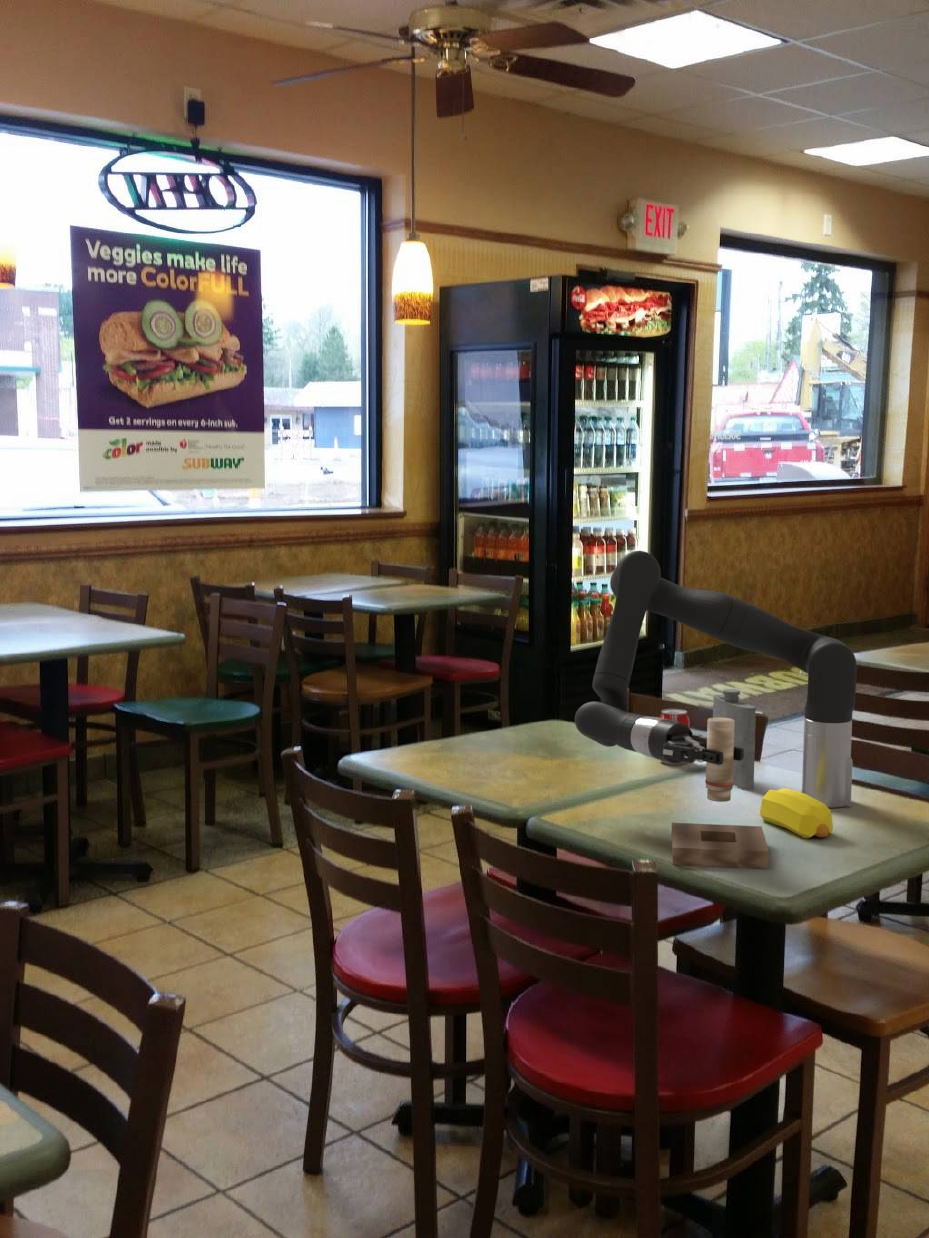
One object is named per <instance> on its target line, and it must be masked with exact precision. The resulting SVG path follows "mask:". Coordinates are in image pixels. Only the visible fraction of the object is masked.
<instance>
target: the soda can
mask: <svg viewBox="0 0 929 1238" xmlns="http://www.w3.org/2000/svg"><path fill="white" fill-rule="evenodd" d="M658 717H659V718H663V719H667V720H672V721H676V722H680V723H684V724H686V725H687V726H688V727H689V728H690V729H691V725H690V717H689V716H688V711H687V710H685V709H682V708H681V709H680V708H664V709H662V710H661V714H660V716H658ZM660 761H661V762H662V763H663V764H665V765H671V766H675V765H676V766H680V765H684V764H685V763H686V762H681V763H678V764H673V763H669V762H666V761H662V760H660Z"/></svg>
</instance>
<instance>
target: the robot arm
mask: <svg viewBox="0 0 929 1238" xmlns="http://www.w3.org/2000/svg"><path fill="white" fill-rule="evenodd" d="M661 570H662V569H661V566H660V564H659V562H658V560H657V559H656V557H655V556H653V555H652V554H651V553H649V552H647V551H645V550H633V551H631V552H628V553H627V554H625V555H624V556H623V557H621V558H620V560H618V562H617V564H616V566H615V568H614V569H613V572H612V574H611V577H610V581H609V585H610V590H611V592H612V593H613V595H614V596H615V602H614V607H613V611H612V615H611V618H610V622H609V625H608V628H607V631H606V634H605V637H604V639H603V642H602V645H601V648H600V652H599V655H598V658H597V663H596V667H595V670H594V674H593V679H592V686H591V687H592V689H593V691H594V692H595V693H596V694H597V696H598V697H599V698H600V701H594V700H593V701H589V702H586V703H584V704H582V705H581V706H580V707H579V708H578V709H577V710H576V712H575V716H574V725H575V727H576V729H577V731H578V732H579V733H580V734H581V735H583V736H584V737H586V738H588V739H590V740H592V741H594V742H595V743H598V744H599V745H602V746H604V747H609V748H611V747H614V746H618V747H620V748H622V749H625V750H628V751H631V752H635V753H637V754H642V755H644V756H645V757H647V758H651V759H655V760H658V761H661V760H662V761H666V762H669V763H673V764H678V763H681V762H685V763H688V764H694V763H695V762H699V763H706V762H708V763H712V764H716V765H721V764H723V753H722V752H719V751H715V750H711V749H707V736H703V735H702V734H699V733H697V734H696V733H693V731H692V730H691V727H690V728H689V727H688V726H687V725H686V724H684V723H680V722H676V721H672V720H667V719H663V718H659V717H660V716H648V715H644V714H639V713H635V712H629V697H628V691H629V690H628V689H629V685H630V681H631V676H632V673H633V667H634V663H635V659H636V653H637V649H638V643H639V639H640V634H641V631H642V626H643V624H644V623H643V622H644V620H645V616H646V612H647V611H648V612H649V613H650V612H651V613H653V614H657V615H661V616H664V617H666V618H669V619H671V620H673V621H676V622H678V623H680V624H682V625H684V626H686V627H689V628H691V629H694V630H695V631H698V632H700V633H703V634H705V635H707V636H708V637H709V636H710V637H711V638H713V639H716V640H718V641H720V642H723V643H725V644H727V645H730V646H733V647H736V648H739V649H741V650H746V651H748V652H753V653H757V654H761V655H766V656H769V657H773V658H777V659H778V660H781V661H783V662H786V663H788V664H789V665H791V666H793V667H796V668H797V669H799V670H801V671H803V672H804V673H806V674H807V695H806V701H805V705H804V715H803V716H804V718H803V719H804V720H803V746H802V747H803V748H802V749H803V750H802V751H803V752H802V776H801V777H802V780H801V782H802V783H801V793H804V794H806V795H808V796H810V797H812V798H814V799H816V800H818V801H820V802H822V803H824V804H825V805H826V806H827V807H828V808H829V809H830V808H844V807H851V806H852V785H853V783H852V782H853V781H852V780H853V763H854V762H853V759H852V757H851V756H852V755H851V754H852V731H853V711H854V708H855V705H856V704H855V703H856V691H857V690H856V689H857V672H858V671H857V670H858V669H857V667H858V665H857V659H856V656H855V653H854V652H853V651H852V649H851V648H850V647H848V646H847V645H846V644H845V643H844V642H842V641H841V640H839V639H837V638H834V637H831V636H826V635H823V634H819V633H816V632H812V631H809V630H806V629H803V628H800V627H798V626H795V625H793V624H792V625H791V624H789V623H788V622H786V621H784V620H782V619H780V618H779V617H778V616H776V615H774V614H772V613H770V612H768V611H766V610H764V609H762V608H760V607H758V606H756V605H754V604H752V603H750V602H747V601H745V600H743V599H741V598H738V597H735V596H733V595H731V594H728V593H724V592H721V591H713V590H706V589H699V588H690V587H687V586H682V585H679V584H676V583H674V582H672V581H669V580H667V579H665V578H662V577H661V575H662V574H661V573H662V571H661ZM743 758H744V750H743V748H740V747H736V746H734V758H733V759H734V760H737V761H741V760H743ZM662 761H661V762H662Z"/></svg>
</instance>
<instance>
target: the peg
mask: <svg viewBox="0 0 929 1238" xmlns="http://www.w3.org/2000/svg"><path fill="white" fill-rule="evenodd" d="M706 724H707V726H706V727H707V728H706V730H707V731H706V737H707V749H711V750H715V751H719V752H722V753H723V764H721V765H716V764H712V763H708V762H705V764H706V765H705V766H706V769H705V779H704V780H705V782H704V783H705V788H706V789H707V793H706V794H707V796H706V797H707V800H709V801H711V802H717V803H718V802H719V803H721V802H723V803H725V802H726V803H727V802H729V801H731V795H732V792H731V791H732V790H733V787H734V786H733V758H734V724H735V720H733V719H730V718H721V717H716V718H713V717H709V718H708V719H707V723H706Z"/></svg>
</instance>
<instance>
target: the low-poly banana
mask: <svg viewBox="0 0 929 1238" xmlns="http://www.w3.org/2000/svg"><path fill="white" fill-rule="evenodd" d="M760 803H761V804H760V809H759V815H760V817H761V818H762V819H763V820H764V821H765V822H768V823H771V824H772V825H776V826H778V827H782V828H784V829H787V830H789V831H791V833H793V834H796V835H798V836H800V837H802V838H804V839H809V838H810V839H811V837H813V836H815V837H817V838H825V837H827V836H830V835H832V834H833V829H834V823H833V814H832V810H831V809H830V807H827V806H826V805H825V804H824V803H822V802H820V801H818V800H816V799H814V798H812V797H810V796H808V795H806V794H804V793H802V791H801V792H800V791H797V790H793V789H791V788H790V789H789V788H786V787H783V788H780V789H777V790H775V789H774V790H773V789H768V791H767V792H766V793H765V795H764V796H763V797H762V798H761V802H760Z"/></svg>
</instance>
